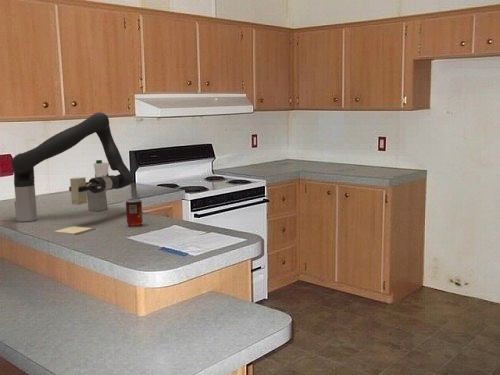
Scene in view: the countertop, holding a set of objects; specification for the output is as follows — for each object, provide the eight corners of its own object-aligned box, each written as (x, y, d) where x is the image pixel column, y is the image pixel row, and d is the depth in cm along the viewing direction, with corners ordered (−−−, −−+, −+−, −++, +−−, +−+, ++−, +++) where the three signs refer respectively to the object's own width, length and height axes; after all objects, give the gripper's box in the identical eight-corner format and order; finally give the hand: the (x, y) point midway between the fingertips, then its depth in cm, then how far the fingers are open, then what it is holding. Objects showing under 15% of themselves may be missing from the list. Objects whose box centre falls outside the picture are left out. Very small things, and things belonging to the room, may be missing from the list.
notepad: (54, 232, 233) (54, 230, 233) (73, 227, 243) (73, 226, 243) (77, 234, 227) (77, 233, 227) (95, 229, 237) (95, 228, 237)
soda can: (143, 226, 241) (142, 199, 239) (127, 227, 239) (126, 201, 237) (142, 223, 248) (140, 197, 246) (126, 224, 246) (125, 198, 244)
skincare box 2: (108, 209, 287) (106, 180, 285) (99, 211, 281) (97, 182, 278) (95, 208, 291) (94, 180, 288) (86, 210, 284) (84, 181, 282)
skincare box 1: (79, 205, 240) (78, 178, 238) (71, 204, 241) (69, 178, 239) (87, 202, 246) (86, 176, 244) (79, 202, 247) (77, 176, 245)
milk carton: (103, 187, 376) (101, 159, 374) (112, 188, 371) (110, 160, 369) (93, 189, 369) (91, 160, 366) (102, 189, 364) (100, 161, 361)
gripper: (88, 176, 258) (62, 180, 243) (111, 177, 251) (85, 181, 236) (89, 191, 259) (63, 196, 244) (112, 192, 252) (86, 198, 237)
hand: (74, 189), depth 240 cm, fingers closed on skincare box 1, 5 cm apart
